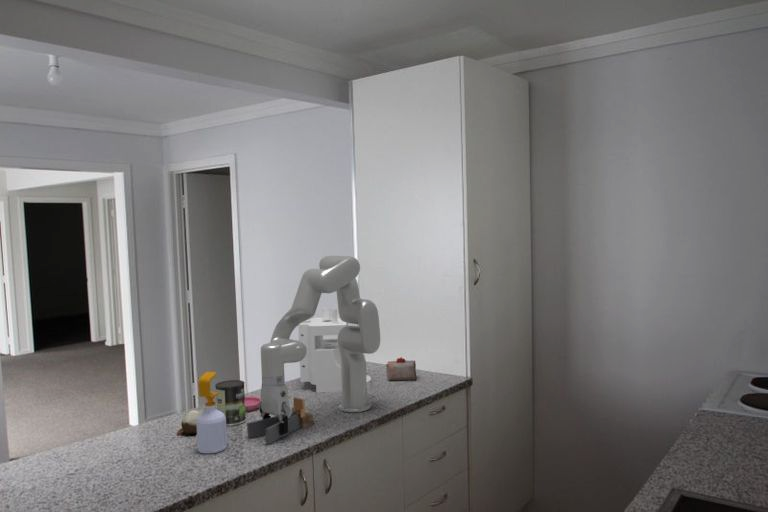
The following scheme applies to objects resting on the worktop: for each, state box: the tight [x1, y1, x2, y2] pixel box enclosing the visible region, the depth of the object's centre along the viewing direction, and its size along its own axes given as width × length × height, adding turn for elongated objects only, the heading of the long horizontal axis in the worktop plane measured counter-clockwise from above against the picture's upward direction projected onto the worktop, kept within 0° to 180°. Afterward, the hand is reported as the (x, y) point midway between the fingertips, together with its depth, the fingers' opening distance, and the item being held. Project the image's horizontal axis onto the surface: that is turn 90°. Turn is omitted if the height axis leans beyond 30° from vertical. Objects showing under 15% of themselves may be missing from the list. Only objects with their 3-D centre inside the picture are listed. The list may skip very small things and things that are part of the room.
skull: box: [176, 410, 202, 438], centre depth 211 cm, size 12×10×10 cm
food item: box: [385, 356, 417, 381], centre depth 272 cm, size 14×8×10 cm, turn 87°
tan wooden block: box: [291, 396, 306, 418], centre depth 212 cm, size 2×5×6 cm, turn 49°
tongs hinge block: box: [300, 411, 315, 429], centre depth 214 cm, size 5×4×4 cm
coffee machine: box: [297, 303, 372, 394], centre depth 266 cm, size 24×30×35 cm
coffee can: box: [214, 379, 247, 427], centre depth 220 cm, size 10×10×14 cm
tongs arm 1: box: [246, 412, 297, 439], centre depth 207 cm, size 18×1×5 cm, turn 125°
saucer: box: [245, 396, 261, 413], centre depth 236 cm, size 12×12×3 cm
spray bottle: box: [196, 371, 228, 455], centre depth 193 cm, size 9×9×25 cm
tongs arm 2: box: [265, 413, 301, 445], centre depth 203 cm, size 18×1×5 cm, turn 153°
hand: (275, 430), depth 204 cm, fingers open, 8 cm apart
